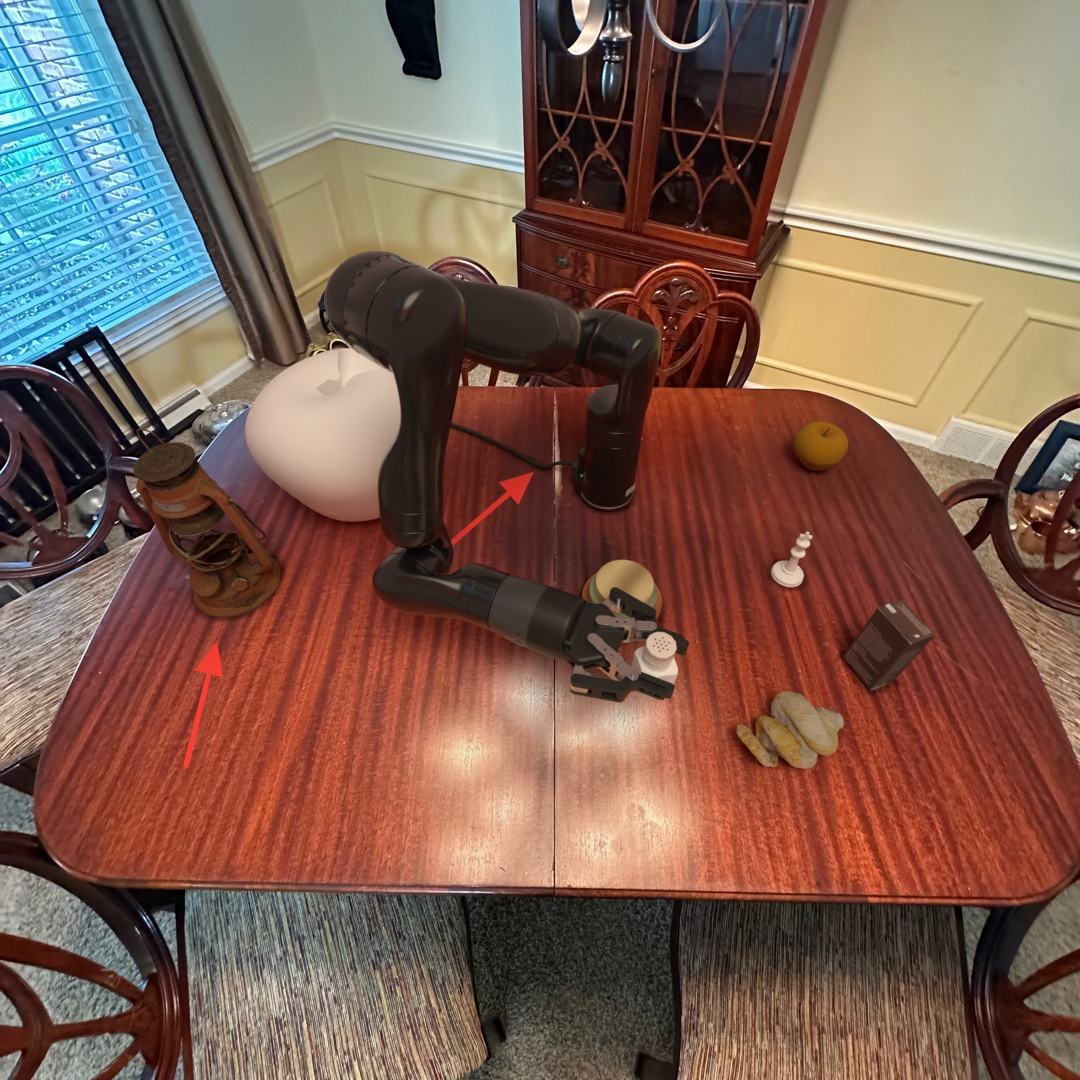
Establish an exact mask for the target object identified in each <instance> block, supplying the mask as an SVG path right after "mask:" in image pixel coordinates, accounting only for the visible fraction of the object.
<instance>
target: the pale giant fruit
mask: <svg viewBox="0 0 1080 1080" xmlns="http://www.w3.org/2000/svg"><path fill="white" fill-rule="evenodd" d="M399 423H400V403H399V396H398V391H397V386H396V382H395V378H394V374H393V373H391V372H389V371H388V370H386V369H384V368H382V367H380V366H379V365H377V364H375V363H374V362H372V361H370V360H369V359H367V358H365V357H363V356H362V355H360V354H358V353H357V352H355V351H354V350H353V349H352V348H351V347H348V348H346V347H341V348H335V349H329V350H325V351H322V352H319V353H316V354H314V355H310V356H308V357H306V358H304V359H301V360H299V361H298V362H295V363H294V364H292V365H290V366H289V367H287V368H285V369H284V370H282V371H281V372H280V373H279V374H277V375H276V376H275V377H273V379H271V380H270V381H269V382H268V383H267V384H266V385H265V386H264V387H263V388H262V390H261V391H259V394H258V395H257V396H256V397H255V400H254V401H253V403H252V405H251V406H250V409H249V411H248V413H247V416H246V419H245V426H244V427H245V428H244V437H245V443H246V446H247V449H248V451H249V453H250V456H251V457H252V459H253V460H254V462H255V463H256V465H257V466H258V467H259V468H260V470H261V471H262V472H263V473H264V474H265V475H266V476H267V477H268V478H269V479H270V480H272V482H274V483H275V484H276V485H277V486H278V487H279V488H281V489H282V490H284V491H285V492H286V493H288V494H289V495H290V496H292V497H293V498H295V499H296V500H298V501H299V502H301V503H302V504H303V505H305V506H306V507H308V508H309V509H311V510H312V511H314V512H316V513H317V514H319V515H321V516H324V517H326V518H329V519H332V520H337V521H340V522H351V523H353V522H354V523H355V522H366V521H367V522H368V521H373V520H377V519H380V513H379V502H378V491H377V476H378V469H379V465H380V462H381V459H382V457H383V455H384V453H385V451H386V449H387V447H388V446H389V444H390V443H391V441H392V440H393V438H394V436H395V434H396V432H397V430H398V427H399Z"/></svg>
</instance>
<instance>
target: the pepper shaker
mask: <svg viewBox="0 0 1080 1080" xmlns="http://www.w3.org/2000/svg"><path fill="white" fill-rule="evenodd" d="M676 649H677V648H676V642H675V640H674V639H673V638H672V636H670V635H669V634H667V633H665V632H655V633H653V634H651V635H649V637H648V639H647V640H646V641H645V644H644V646H641V647H638V648H637V649H636V650H634V653H633V656H632V661H631V665H630V666H631V667H632V668H633V669H635V670H636V671H637V672H638V674H639V675H641V672H644V673H646V674H649V675H651V676H654V677H657V678H659V679H662V680H665V681H667V682H670V683H672V684H674V685H675V682H676V680H677V677H678V675H679V668H678V664H677V661H676V659H675V656H676V653H675V652H676ZM633 693H634V695H635V698H636V700H637V702H638V703H641V704H643V703H648V702H654V701H657V700H658V699H656V698H654V697H650V696H648V695H645V694H643V693H640V692H638V691H633Z"/></svg>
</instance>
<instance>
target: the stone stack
mask: <svg viewBox="0 0 1080 1080" xmlns="http://www.w3.org/2000/svg"><path fill="white" fill-rule="evenodd" d="M844 725H845V720H844V717H843V715H842V714H841V713H840V712H836V711H833V710H830V709H826V708H825V707H823V706H816V707H815V706H813V705H812V703H810V701H809V700H808V699H807V698H806V697H805V696H804V695H803V694H801V693H800V692H794V691H791V690H782V691H779V692H777V693H776V694H775V695H774V697H773V699H772V701H771V703H770V716H768V715H761V716H759V717H758V718H757V719H756V722H755V725H754V726H755V735H754V734H753V732H752V730H750V728H749V727H748V726H746V725H744V724H738V725H737V727H736V735H737V737H738V738H739V739H740V741H741V742H742V743H743V744H744V745H745V746H746V747H747V748H748V750H749V752H750V753H751V754H752V755H754V756H755V758H756V759H757V761H758V762H759V763H760V764H761V765H762V766H763V767H766V768H776V767H777V766H778V763H779V757H780V758H782V759H784V761H785V762H787V763H788V764H789V765H790V766H792V767H794V768H795V769H804V770H805V769H809V768H812V767H814V766H815V765H816V763H817V762H818V760H817V759H818V755H820V756H825V757H829V756H830V755H833V754H834V753H836V751H837V750H838V747H839V736H838V733H839V730H841V729H843V728H844Z"/></svg>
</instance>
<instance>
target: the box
mask: <svg viewBox="0 0 1080 1080" xmlns="http://www.w3.org/2000/svg"><path fill="white" fill-rule="evenodd" d="M936 635H937V634H936V632H935V631H934V630H933V629H931V627H930V626H929V625H928V624H927V623H926V622H925V621H924V620H923V619H922V618H921V617H920V616H919V615H918V614H917V613H916V612H915V611H914V609H912V608H911V606H910V605H909V604H908V603H907V602H906V601H905V600H904V599H899V600H896V601H893V602H890V603H887V604H884V605H880V606H877V608H876V609H875V611H874V612H873V613H872V615H871V616H870V618H868V620H867V622H866V623H865V624H864V626H863V627H862V629H861V630H860V631H859V633H858V634H857V635H856V637H855V638H854V640H853V641H852V642H851V643H850V645H849V646H848V648H847V649H846V651H844V653H843V655H842V658H843V659H844V661H845V662H846V663H847V664H848V666H849V667H850V668H851V669H852V671H853V672H854V673H855V674H856V675H857V677H858V678H859V679H860V681H861V682H862V683H863V684H864V686H865V687H866V688H867V689H868V691H874V690H876V689H878V688H882V687H884V686H887V685H889V684H891V683H894V682H895V680H897V678H898V677H899V676H900V675H901V674H902V673H903V672H904V671H905V670H906V669H907V667H909V665H910V664H911V663H912V662H913V661H914V660H915V659H916V658H917V656H918V655H919V654H920V653H921V652H922V651H923V650H924V648H926V646H927V645H928V644H929V643H930V642H931V641H932V640H933V639H934V638H935V637H936Z"/></svg>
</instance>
